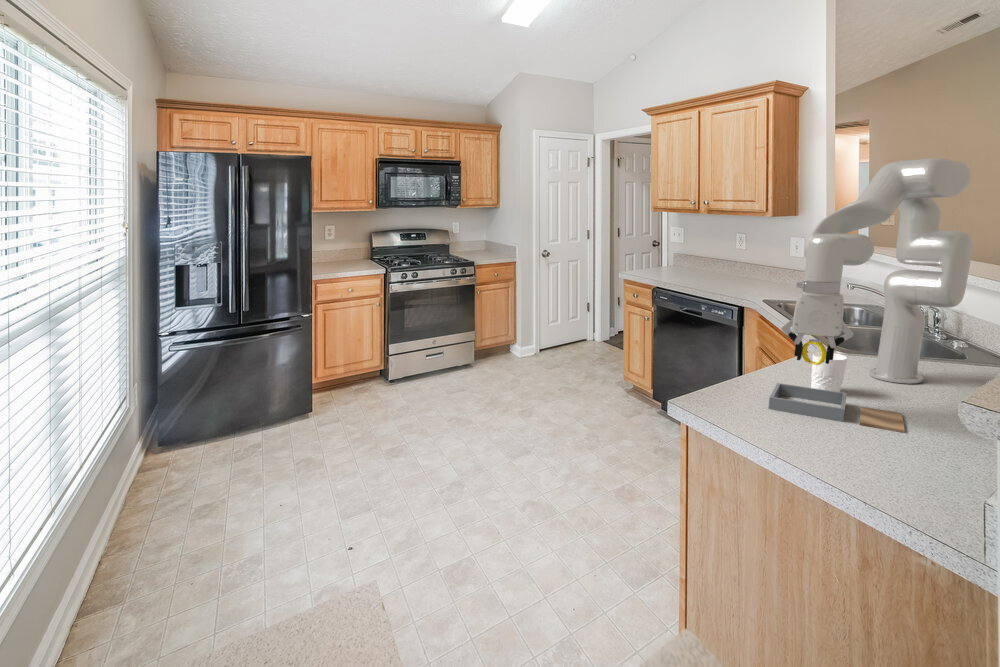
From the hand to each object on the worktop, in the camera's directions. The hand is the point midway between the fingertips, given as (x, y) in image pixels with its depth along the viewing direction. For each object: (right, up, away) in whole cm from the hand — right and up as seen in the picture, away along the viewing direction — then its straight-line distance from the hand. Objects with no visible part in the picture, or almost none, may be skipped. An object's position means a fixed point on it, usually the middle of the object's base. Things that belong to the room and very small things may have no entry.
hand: (813, 360), depth 124 cm
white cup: (+12, -9, +14) cm, 20 cm away
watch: (0, -1, 0) cm, 1 cm away
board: (+12, -14, -7) cm, 19 cm away
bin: (0, -12, +3) cm, 12 cm away
